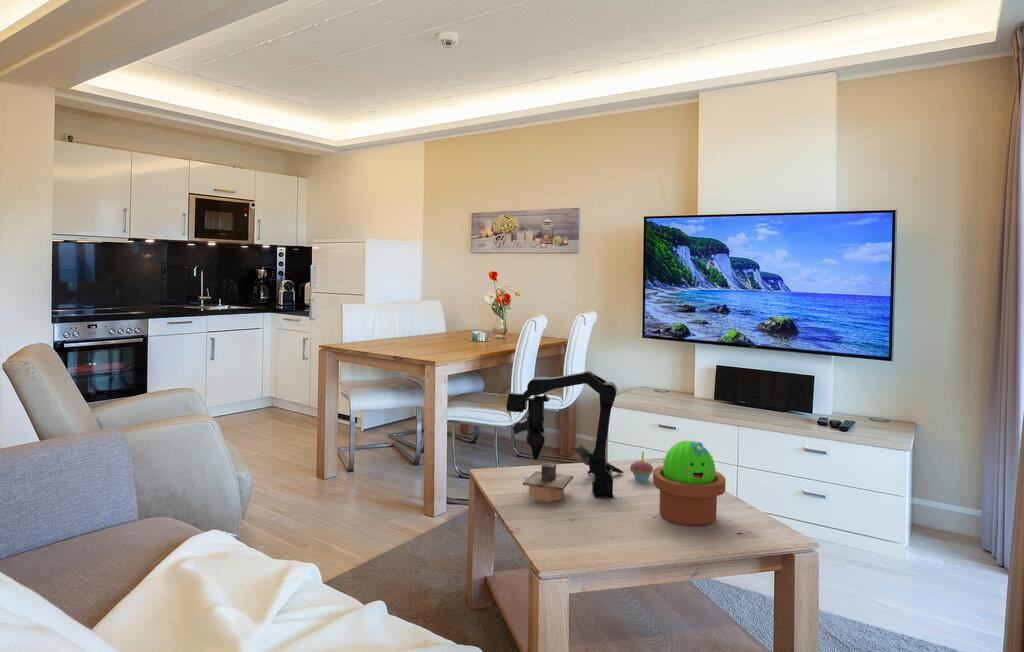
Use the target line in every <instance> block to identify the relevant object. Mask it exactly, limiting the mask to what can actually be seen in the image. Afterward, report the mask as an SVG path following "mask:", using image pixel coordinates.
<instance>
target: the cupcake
mask: <svg viewBox="0 0 1024 652" xmlns="http://www.w3.org/2000/svg"><path fill="white" fill-rule="evenodd" d="M644 453H645V452H644V451H642V452H641V460H638V461H635V462H633V463H631V465H630V467H629V468H630V469H629V470H630V472H632V475H633V477H634V480H635V481H636V482H638V481H639V482H638V483H647V482H649V479H650V477H651V475H652V474H653V471H654V467H653V466H652V464H651V463H649V462H647V461H644Z"/></svg>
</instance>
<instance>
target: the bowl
mask: <svg viewBox="0 0 1024 652" xmlns="http://www.w3.org/2000/svg"><path fill="white" fill-rule="evenodd" d="M564 489H565V488H564ZM564 489H563V490H557V489H550V488H542V487H535V486H528V496H530V498H531V497H532V498H533V500H535V499H537V500H536V501H539V500H541V501H540V502H554V500H556V501H560V500H561V499H563V498H564V496H565V495H564V492H565V490H564ZM532 498H531V499H532ZM559 499H560V500H559Z"/></svg>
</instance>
